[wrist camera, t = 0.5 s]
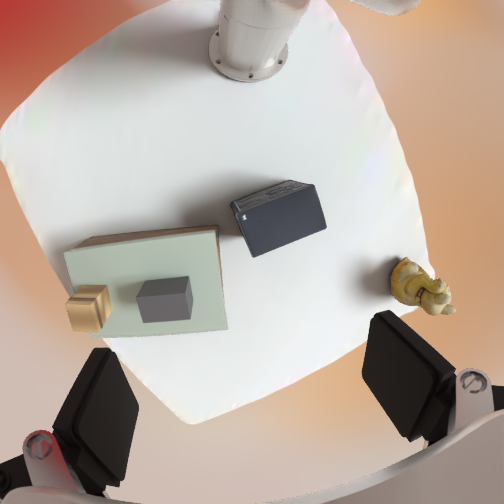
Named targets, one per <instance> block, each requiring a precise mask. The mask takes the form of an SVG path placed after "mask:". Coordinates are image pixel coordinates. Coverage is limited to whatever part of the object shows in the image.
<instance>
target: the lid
mask: <svg viewBox="0 0 504 504" xmlns="http://www.w3.org/2000/svg"><path fill="white" fill-rule="evenodd" d="M63 254H64V258H65V262H66V266H67V269H68V273H69V276H70V280H71V283H72V286H73V290H74V293H76V292H77V291H78V290H79V289H80V288H81V287H82V286H83V285H107V286H108V291H109V296H110V301H111V306H112V310H113V311H112V312H111V314H110V315H109V317H108V319H107V320H106V322H105V323H104V325H103V328H102V329H101V330H100V331H99V333H89V334H90V337H91V338H117V337H142V336H160V335H174V334H187V333H198V332H208V331H217V330H226V329H228V324H227V317H226V310H225V303H224V296H223V289H222V282H221V274H220V267H219V259H218V251H217V243H216V235H215V230H209V231H201V232H192V233H184V234H176V235H168V236H161V237H153V238H146V239H138V240H131V241H124V242H117V243H110V244H103V245H97V246H90V247H84V248H77V249H71V250H67V251H66V252H64V253H63Z"/></svg>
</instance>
